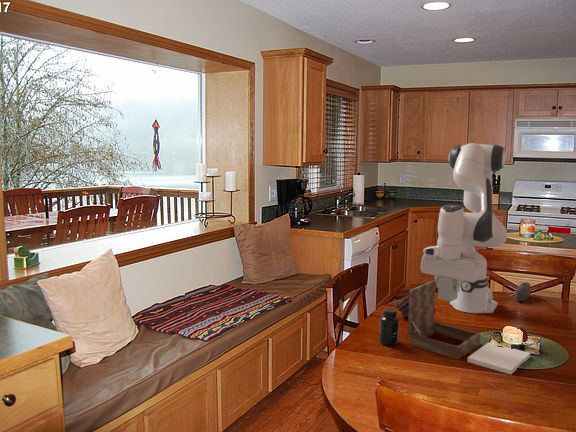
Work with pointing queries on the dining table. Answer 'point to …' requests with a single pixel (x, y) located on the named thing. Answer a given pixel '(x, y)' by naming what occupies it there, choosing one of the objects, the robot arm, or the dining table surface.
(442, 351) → the walnut box
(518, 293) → the perforated stone tool
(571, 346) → the dining table surface
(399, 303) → the pine cone
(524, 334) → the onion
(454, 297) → the block
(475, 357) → the cutting board
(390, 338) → the supplement bottle
